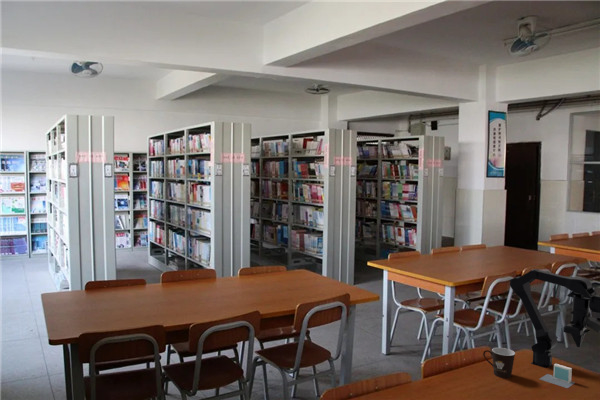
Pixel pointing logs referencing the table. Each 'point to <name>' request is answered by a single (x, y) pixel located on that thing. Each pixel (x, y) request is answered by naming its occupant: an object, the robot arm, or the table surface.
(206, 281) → the table surface
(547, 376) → the mat
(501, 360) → the coffee mug
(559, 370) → the tile
